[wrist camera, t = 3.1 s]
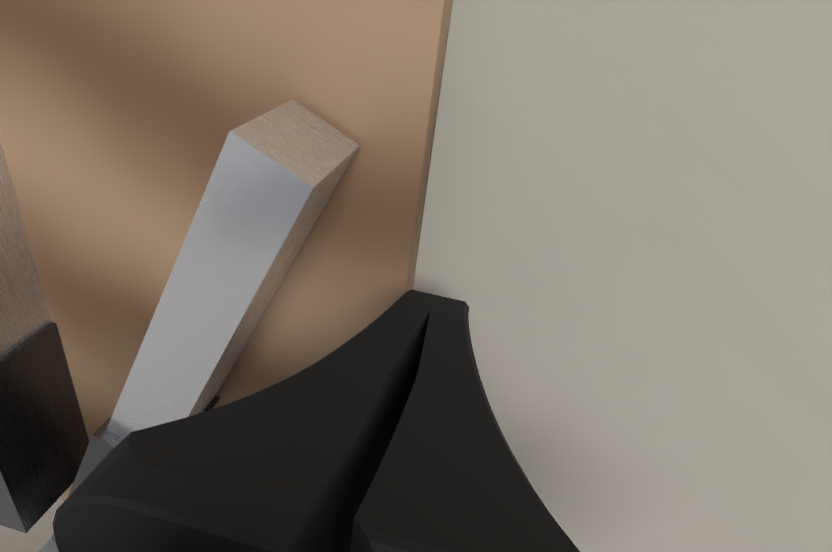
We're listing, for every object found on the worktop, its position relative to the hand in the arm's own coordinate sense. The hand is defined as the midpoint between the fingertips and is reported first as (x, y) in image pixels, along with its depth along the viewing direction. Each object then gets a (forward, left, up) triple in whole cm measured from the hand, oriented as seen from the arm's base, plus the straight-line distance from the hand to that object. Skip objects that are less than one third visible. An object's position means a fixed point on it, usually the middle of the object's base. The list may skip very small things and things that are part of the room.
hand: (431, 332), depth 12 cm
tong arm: (-4, +7, -1) cm, 8 cm away
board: (-3, +10, -2) cm, 10 cm away
